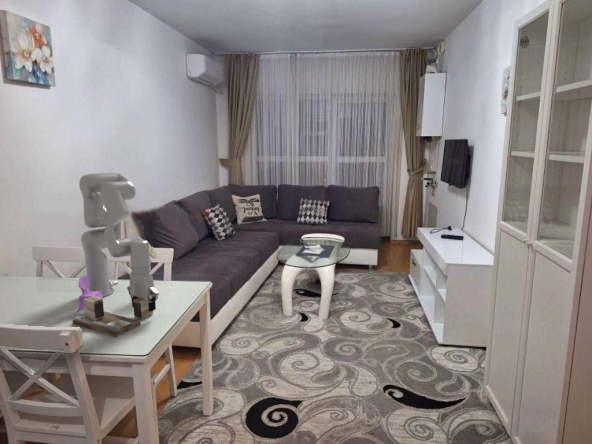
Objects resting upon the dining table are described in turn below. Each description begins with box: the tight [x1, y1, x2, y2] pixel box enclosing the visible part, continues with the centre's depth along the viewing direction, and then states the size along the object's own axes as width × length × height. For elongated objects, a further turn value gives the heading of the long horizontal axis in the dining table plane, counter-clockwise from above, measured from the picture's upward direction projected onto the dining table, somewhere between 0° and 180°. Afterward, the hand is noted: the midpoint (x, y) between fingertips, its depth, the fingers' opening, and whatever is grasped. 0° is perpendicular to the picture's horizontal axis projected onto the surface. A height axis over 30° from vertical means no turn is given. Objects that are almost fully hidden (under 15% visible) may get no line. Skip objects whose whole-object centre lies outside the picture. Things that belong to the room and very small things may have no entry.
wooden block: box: [132, 297, 154, 320], centre depth 174 cm, size 4×7×8 cm
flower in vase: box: [149, 243, 160, 293], centre depth 196 cm, size 13×11×25 cm
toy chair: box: [76, 275, 104, 313], centre depth 180 cm, size 8×9×15 cm
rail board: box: [72, 296, 141, 338], centre depth 165 cm, size 12×25×10 cm, turn 63°
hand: (144, 308), depth 174 cm, fingers open, 9 cm apart
